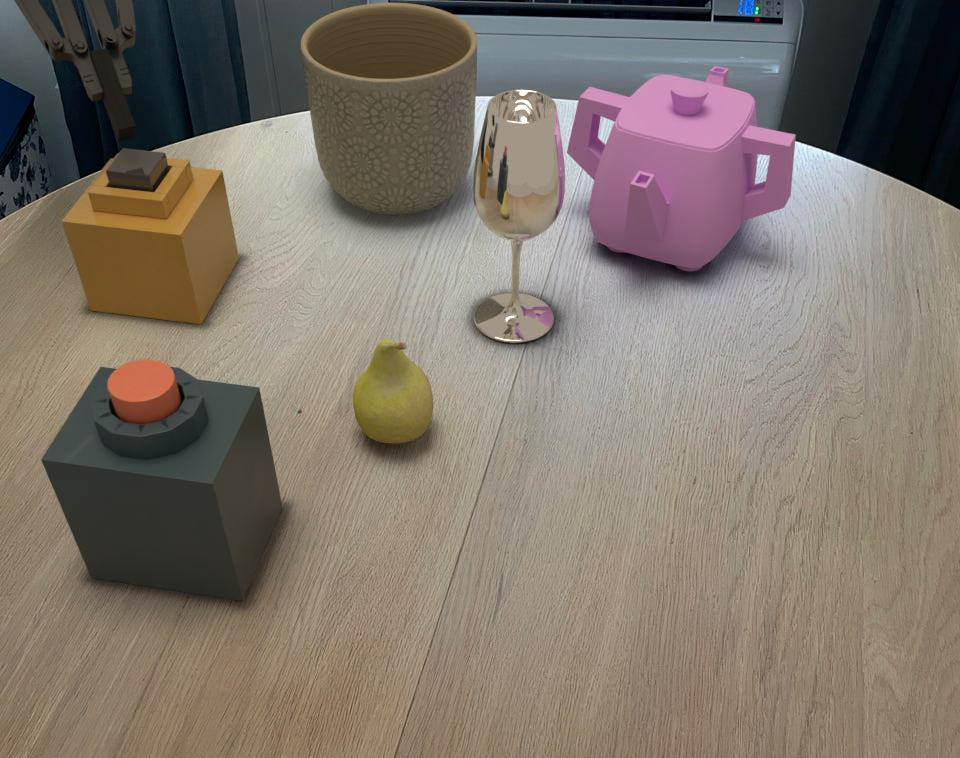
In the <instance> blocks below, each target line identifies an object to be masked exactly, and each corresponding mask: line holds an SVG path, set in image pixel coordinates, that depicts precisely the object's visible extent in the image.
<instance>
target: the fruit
mask: <svg viewBox="0 0 960 758" xmlns="http://www.w3.org/2000/svg"><path fill="white" fill-rule="evenodd" d="M407 348H408V346H407V344H406V343H405V342H404V341H400V342H399V343H397V342H396V340H394V339H392V338H384V339H381V340H380V341H379V343H378V344H377V345H376V347H375V349H374V352H373V353H372V354H373V355H372V358H371V360H370V362H369V365H368V366H367V368H366V370H365V371H363V373H361V374H360V375H359V377H358V378H357V380H356V382H355V385H354V388H353V392H352V405H353V406H352V407H353V411H354V417H355V420H356V423H357V425H358V427H359V428H360V429H361V431H362V432H363V434H364V435H366V436H367V437H368V438H369V439H371V440H373V441H376V442H378V443H382V444H383V443H384V444H403V443H408V442H412V441H414V440H416V439H418V438H419V437H421V436H422V435H423V434H424V433H425V432H426V431H427V429H428V428H429V426H430V424H431V422H432V418H433V414H434V408H435V407H434V394H433V390H432V385H431V383H430V380H429V378H428V376H427V375H426V373H425V371H424V370H423V369H422V368H421V367H420V366H419V365H418V364H416V363H415V362H413V360H411V359H410V358H408V356H407V355H406V354H405V352H404V351H403V350H405V349H407Z"/></svg>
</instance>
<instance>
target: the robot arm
mask: <svg viewBox="0 0 960 758" xmlns="http://www.w3.org/2000/svg"><path fill="white" fill-rule="evenodd" d="M13 1H14V3H15V4H16V7H18V9H19V10H20V12H21V14H22V15H23V17H24V19H25V20H26V21H27V23H28V25H30V27H31V29H32V31H33V33H34V34H35V35H36V37H37V38H38V40H39V42H40V43H41V44H42V46H43V48H44V50H45V51H46V52H47V54H48V56H49V57H50V58H51V60H53V61H55V62H57V63H58V62H62V61H66V62H67V61H68V62H71V63H73V64H74V66H75V67H76V68H77V70H78V73H79V75H80V78H81V81H82V83H83V87H84V89H85V91H86V94H87V96H88V98H89V99H90V100H91V101H92V102H97V101H102V102H103V105H104V107H105V110H106V112H107V115H108V117H109V118H108V119H109V120H110V123H111V126H112V128H113V132H114V134H115V137H116V139H117V141H118V142H124V141H127V140H132V139H135V138H136V130H137V129H136V128H137V125H136V123H135V120H134V117H133V115H132V114H133V113H132V112H131V109H130V106H129V103H128V101H127V98H126V96H127V95H131V94H133V93H132V92H133V80H132V77H131V74H130V71H129V68H128V65H127V63H126V60H125V57H124V55H123V52H124V51H125V50H126V49H131V48H133V47H135V44H136V37H137V36H136V35H137V25H136V18H135V8H134V0H115V5H116V14H117V19H118V20H117V22H118V27H117V28H115V27H114V24H113V21H112V18H111V16H110V13H109V11H108V7H107V4H106V1H105V0H83V1H84V4H85V7H86V10H87V13H88V15H89V18H90V20H91V23H92V26H93V28H94V31H95V34H96V37H97V39H98V42H99V45H100V47H101V49H94V50H89V46H88V41H87V39H86V36H85V33H84V31H83V29H82V26H81V22H80V20H79V18H78V14H77V12H76V9H75V6H74V4H73V3H74V2H73V1H72V0H51V1H52V5H53V8H54V10H55V13H56V15H57V18H58V21H59V24H60V26H61V29H62V32H63V34H64V37H62V36H61V34H60V32H59V30H58V29H57V28H56V26H55V24H54V23H53V21H52V20H51V18H50V16H49V15H48V13H47V12H46V11H45V9H44V7H43V6H42V4H41V2H40V1H39V0H13Z"/></svg>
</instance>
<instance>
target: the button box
mask: <svg viewBox="0 0 960 758" xmlns="http://www.w3.org/2000/svg"><path fill="white" fill-rule="evenodd" d="M169 367H170V368H171V369H172V370H173V372H174V374H175V378H176V382H177V385H178V389H179V393H180V397H181V402H180V406H179V408H178V410H177V411H176V412H175V413H173V414H172V415H170V416H168V417H167V418H165V419H164V420H162V421H157V422H152V423H147V424H143V425H141V424H134V423H127V422H125V421H123V420H122V419H121V418H119V417H118V415H117V414H116V412H115V409H114V406H113V403H112V400H111V397H110V394H109V391H108V388H107V382H108V379H109V377H110V375H111V374H112V373H113V372H114V371H115V370H116V369H117V368H114V367H106V366H100V367H99V368H98V370H97V371H96V373H95V375H94V376H93V377H92V379H91V381H90V382H89V383H88V385H87V387H86V389H84V391H83V393H82V395H81V396H80V398H79V399H78V401H77V403H76V404H75V406H73V409H72V410H71V412H70V413H69V415H68V417H67V418H66V419H65V421H64V423H63V424H62V426H61V428H60V429H59V431H58V432H57V433H56V435H55V436H54V438H53V440H52V442H51V443H50V445H49V446H48V448H47V449H46V450H45V452H44V454H43V456H42V457H41V459H40V460H41V463H42V465H43V467H44V470H45V473H46V475H47V477H48V480H49V482H50V484H51V487H52V489H53V492H54V494H55V496H56V499H57V501H58V504H59V506H60V508H61V510H62V512H63V515H64V517H65V520H66V522H67V524H68V527H69V529H70V531H71V534H72V536H73V539H74V541H75V543H76V546H77V549H78V551H79V553H80V556H81V558H82V560H83V562H84V565H85V567H86V570H87V572H88V574H89V576H90V578H91V579H97V580H104V581H110V582H116V583H122V584H130V585H137V586H143V587H148V588H156V589H162V590H168V591H169V590H170V591H175V592H182V593H188V594H195V595H201V596H208V597H215V598H220V599H221V598H222V599H226V600H227V599H228V600H233V601H240V602H243V601H244V600H245V597H246V595H247V592H248V590H249V587H250V585H251V582H252V580H253V578H254V576H255V574H256V571H257V568H258V566H259V564H260V561H261V559H262V557H263V555H264V552H265V549H266V547H267V545H268V543H269V540H270V539H271V538H270V537H271V536H272V533H273V530H274V528H275V526H276V523H277V521H278V518H279V517H280V514H281V511H282V510H283V503H282V502H283V501H282V498H281V492H280V488H279V482H278V476H277V472H276V466H275V461H274V456H273V451H272V446H271V440H270V435H269V430H268V425H267V420H266V415H265V410H264V404H263V399H262V394H261V388H260V386H251V385H243V384H236V383H229V382H220V381H213V380H206V379H199V378H196V377H195V376H193V375H192V374H190V373H189V372H187V371H186V370H184V369H182V368H180V367H175V366H169Z"/></svg>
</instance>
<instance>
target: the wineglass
mask: <svg viewBox="0 0 960 758" xmlns="http://www.w3.org/2000/svg"><path fill="white" fill-rule="evenodd" d="M479 136H480V137H479V141H478V146H477V151H476V157H475V161H474V162H475V163H474V169H473V170H474V171H473V178H472V179H473V180H472V192H473V193H472V194H473V204H474V207H475V211H476V213H477V216H478V217H479V219H480V220H481V221H482V223H483V224H484V225H485V227H486V228H487V229H488V230H489V231H490V232H492V233H493V234H495V235H496V236H498V237H499V238H501V239H503V240H506V241H509V242H510V248H511V278H510V279H511V281H510V282H511V285H510V292H506V293H500V294H499V293H498V294H495V295H492V296H490V297H488V298H486V299H484V300H483V301H481V302H480V303H479V304H478V305H477V306H476V308H475V310H474V313H473V322H474V325H475V327H476V328H477V330H478V331H479V332H480V333H482V335H485V336H487V337H488V338H489V339H492V340H494V341H498V342H503V343H508V344H509V343H510V344H521V343H522V344H523V343H528V342H532V341H536V340H538V339H540V338H542V337H544V336H545V335H547V334H548V333H549V331H551V329H552V327H553V325H554V321H555V316H554V311H553V310H552V308H551V307H550V306H549V305H548V303H546V302H545V301H543V300H542V299H540V298H538V297H536V296H533V295H530V294H526V293H520V291H519V290H520V287H519V286H520V267H521V254H522V253H521V252H522V249H523V244H524V242H526V241H530V240H533V239H535V238H537V237H538V236H540V235H542V234H544V233H545V232H547V231H548V229H550V227H551V226H552V225H553V224H554V223H555V221H557V219H558V218H559V215H560V213H561V210H562V209H563V205H564V200H565V193H566V166H565V157H564V149H563V139H562V132H561V126H560V120H559V114H558V107H557V104H556V102H555V100H554V99H553V98H551V96H549V95H548V94H544V93H542V92H539V91H535V90H529V89H512V90H506V91H503V92H500V93H498V94H495V95H494V96H493V97H491V98H490V99H489V101H488V102H487V106H486V111H485V115H484V119H483V123H482V128H481V132H480V135H479Z"/></svg>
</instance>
